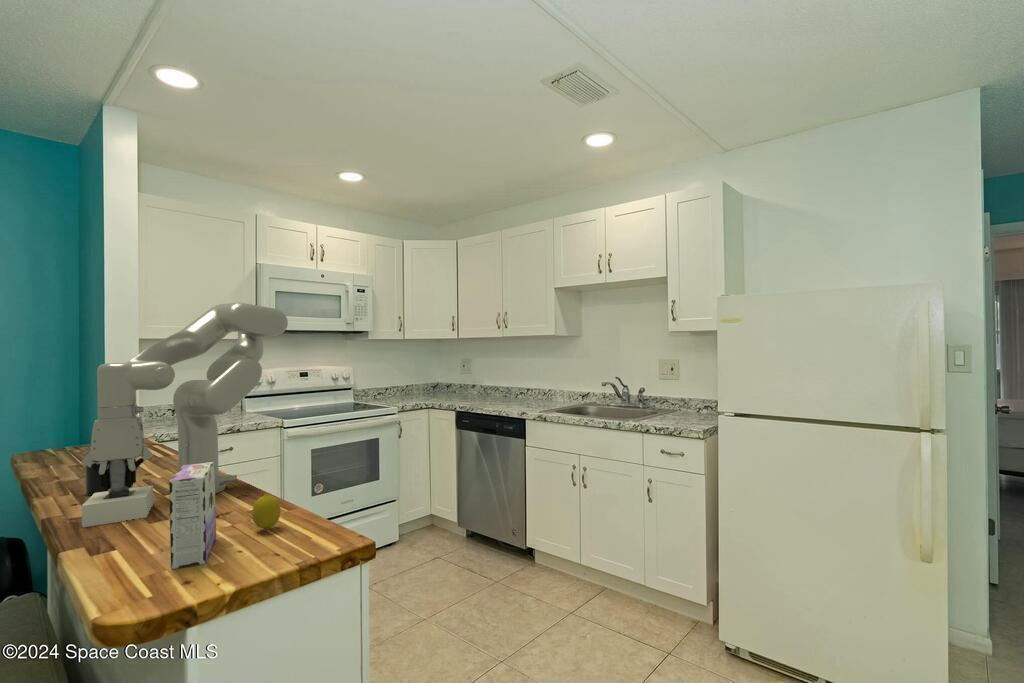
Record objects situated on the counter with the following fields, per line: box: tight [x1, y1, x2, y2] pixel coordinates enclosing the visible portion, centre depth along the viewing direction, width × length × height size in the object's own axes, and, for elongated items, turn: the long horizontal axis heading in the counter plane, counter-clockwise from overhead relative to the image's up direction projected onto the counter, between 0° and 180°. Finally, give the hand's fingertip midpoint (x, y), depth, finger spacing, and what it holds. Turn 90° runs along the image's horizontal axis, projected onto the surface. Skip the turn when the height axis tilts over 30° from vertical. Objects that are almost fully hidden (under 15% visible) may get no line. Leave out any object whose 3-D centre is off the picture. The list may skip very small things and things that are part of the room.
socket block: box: [81, 485, 154, 528], centre depth 124 cm, size 12×12×5 cm
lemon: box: [251, 493, 281, 531], centre depth 111 cm, size 6×6×8 cm
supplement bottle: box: [84, 460, 108, 496], centre depth 145 cm, size 7×7×12 cm
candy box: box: [168, 462, 217, 570], centre depth 100 cm, size 14×6×16 cm, turn 23°
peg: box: [108, 459, 129, 499], centre depth 124 cm, size 4×4×12 cm
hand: (118, 487), depth 124 cm, fingers closed on peg, 3 cm apart
